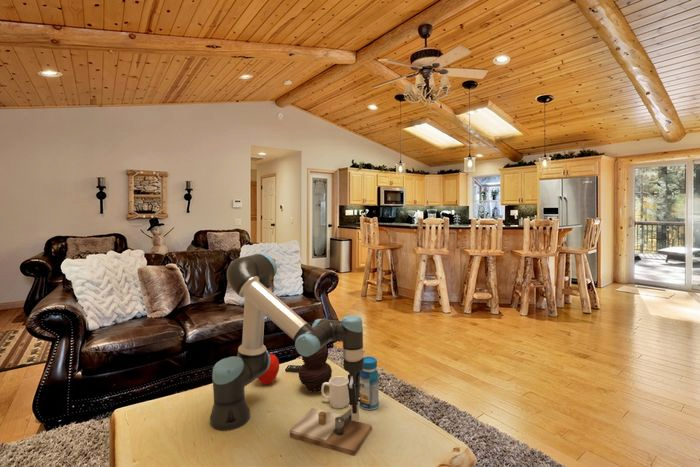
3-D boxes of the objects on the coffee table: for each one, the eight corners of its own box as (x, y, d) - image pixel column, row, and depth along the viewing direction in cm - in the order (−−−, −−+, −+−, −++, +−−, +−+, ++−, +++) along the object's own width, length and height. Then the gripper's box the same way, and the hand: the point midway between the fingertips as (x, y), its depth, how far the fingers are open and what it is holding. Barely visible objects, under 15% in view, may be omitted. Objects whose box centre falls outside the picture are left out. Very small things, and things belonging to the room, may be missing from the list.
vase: (296, 383, 180) (294, 321, 177) (327, 378, 184) (326, 317, 182) (301, 399, 165) (299, 332, 162) (336, 393, 170) (334, 328, 167)
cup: (346, 409, 157) (346, 386, 156) (318, 407, 159) (318, 383, 158) (350, 399, 165) (350, 376, 164) (324, 396, 167) (323, 374, 166)
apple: (272, 374, 190) (271, 348, 188) (284, 382, 181) (283, 355, 179) (250, 381, 182) (249, 354, 181) (261, 391, 173) (260, 362, 172)
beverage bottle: (380, 410, 156) (379, 363, 154) (359, 411, 155) (358, 364, 154) (378, 399, 164) (378, 355, 162) (358, 400, 164) (358, 355, 162)
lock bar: (340, 436, 136) (340, 422, 136) (333, 433, 138) (333, 420, 138) (358, 419, 146) (358, 407, 146) (352, 417, 148) (351, 404, 148)
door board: (289, 436, 140) (289, 419, 139) (311, 413, 154) (311, 398, 153) (354, 455, 129) (354, 437, 128) (371, 429, 143) (371, 412, 143)
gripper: (360, 365, 134) (362, 430, 135) (366, 352, 146) (368, 411, 148) (339, 364, 135) (341, 428, 137) (347, 351, 148) (349, 410, 149)
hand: (355, 419), depth 142 cm, fingers closed
